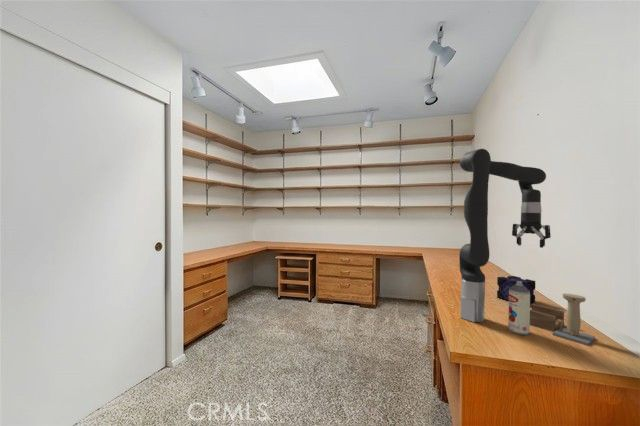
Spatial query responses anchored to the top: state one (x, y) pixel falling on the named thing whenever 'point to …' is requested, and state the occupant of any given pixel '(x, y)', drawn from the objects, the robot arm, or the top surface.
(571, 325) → the handle
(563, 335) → the mat
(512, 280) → the energy cube
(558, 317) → the frame
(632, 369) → the top surface
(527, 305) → the aerosol can
